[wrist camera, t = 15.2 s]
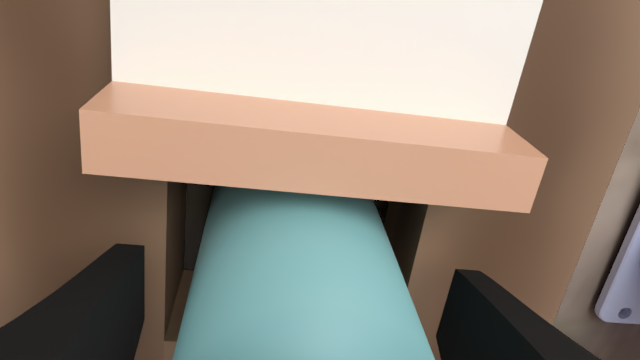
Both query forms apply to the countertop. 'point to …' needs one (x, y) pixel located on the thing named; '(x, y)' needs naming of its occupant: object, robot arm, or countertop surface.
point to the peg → (297, 283)
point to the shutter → (320, 98)
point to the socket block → (401, 217)
